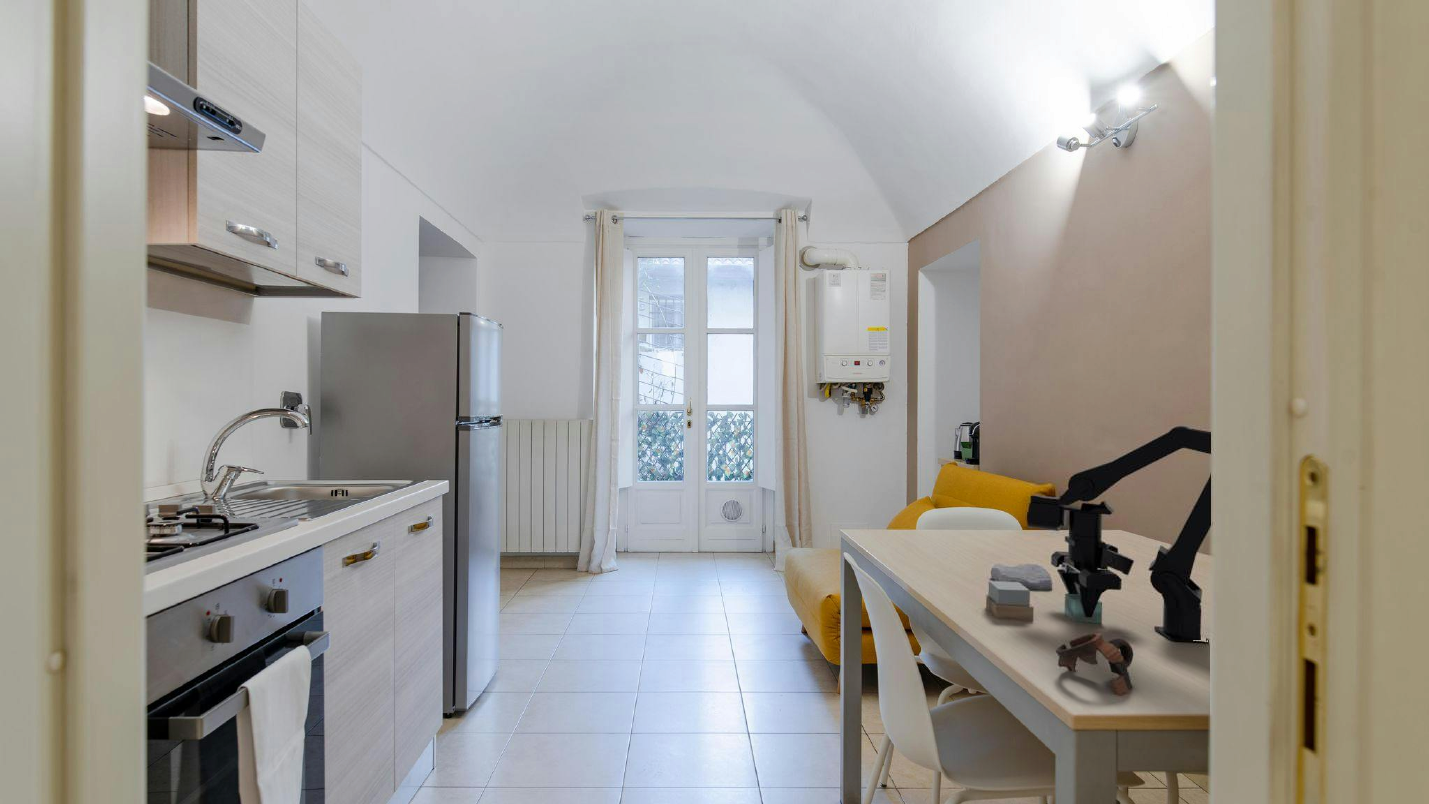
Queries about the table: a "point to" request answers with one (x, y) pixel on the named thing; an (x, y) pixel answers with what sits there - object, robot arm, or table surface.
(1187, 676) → the table surface
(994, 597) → the grey middle block
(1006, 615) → the walnut base block
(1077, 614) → the teal block
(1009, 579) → the stone block
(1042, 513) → the robot arm
